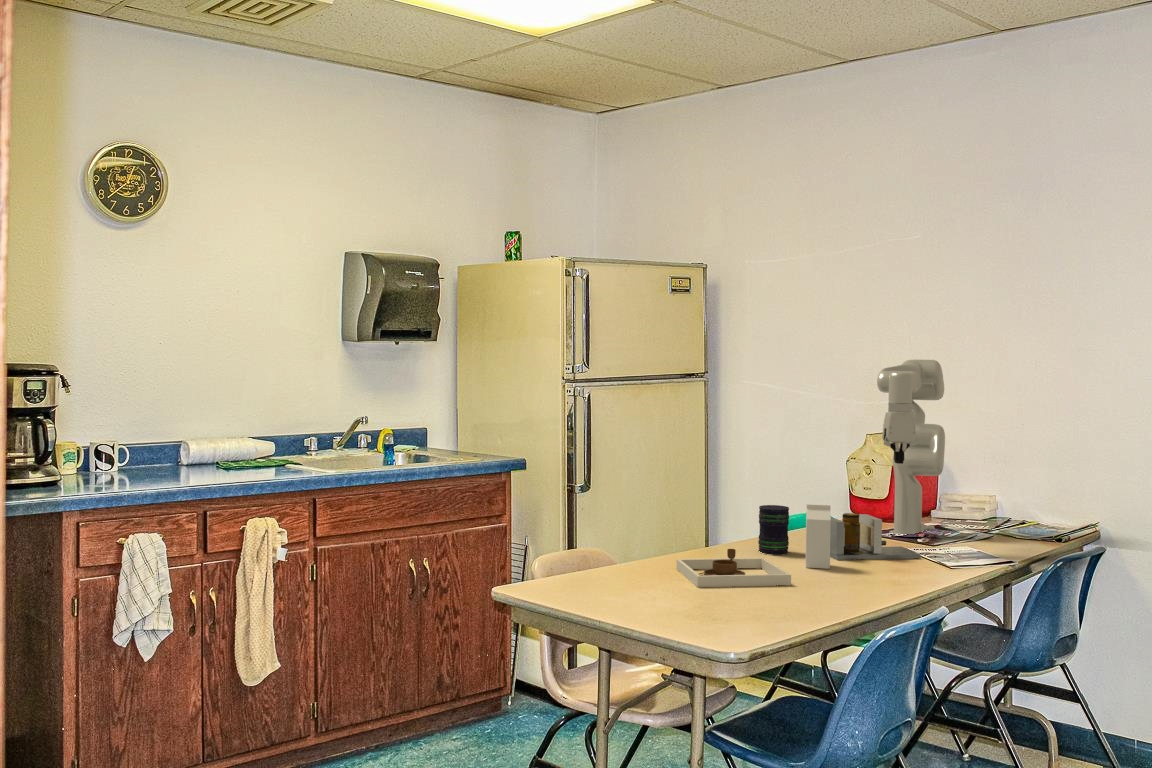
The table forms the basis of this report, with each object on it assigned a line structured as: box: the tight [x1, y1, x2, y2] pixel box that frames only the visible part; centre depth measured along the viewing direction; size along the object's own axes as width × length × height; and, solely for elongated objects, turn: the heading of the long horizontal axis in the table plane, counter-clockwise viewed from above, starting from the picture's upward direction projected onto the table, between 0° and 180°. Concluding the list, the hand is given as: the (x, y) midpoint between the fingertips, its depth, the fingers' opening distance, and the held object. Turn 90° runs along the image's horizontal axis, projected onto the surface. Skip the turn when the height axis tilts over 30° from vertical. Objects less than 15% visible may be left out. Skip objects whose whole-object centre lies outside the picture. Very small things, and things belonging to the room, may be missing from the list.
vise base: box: [830, 516, 922, 561], centre depth 344 cm, size 28×14×12 cm, turn 98°
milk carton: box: [805, 504, 832, 570], centre depth 325 cm, size 7×7×19 cm
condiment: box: [841, 512, 868, 554], centre depth 343 cm, size 7×8×12 cm
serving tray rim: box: [676, 557, 792, 588], centre depth 308 cm, size 27×25×3 cm
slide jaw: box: [858, 513, 887, 553], centre depth 344 cm, size 7×12×11 cm, turn 8°
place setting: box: [698, 548, 746, 576], centre depth 308 cm, size 18×20×6 cm
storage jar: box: [757, 504, 790, 556], centre depth 348 cm, size 10×10×15 cm
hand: (898, 463), depth 355 cm, fingers closed
